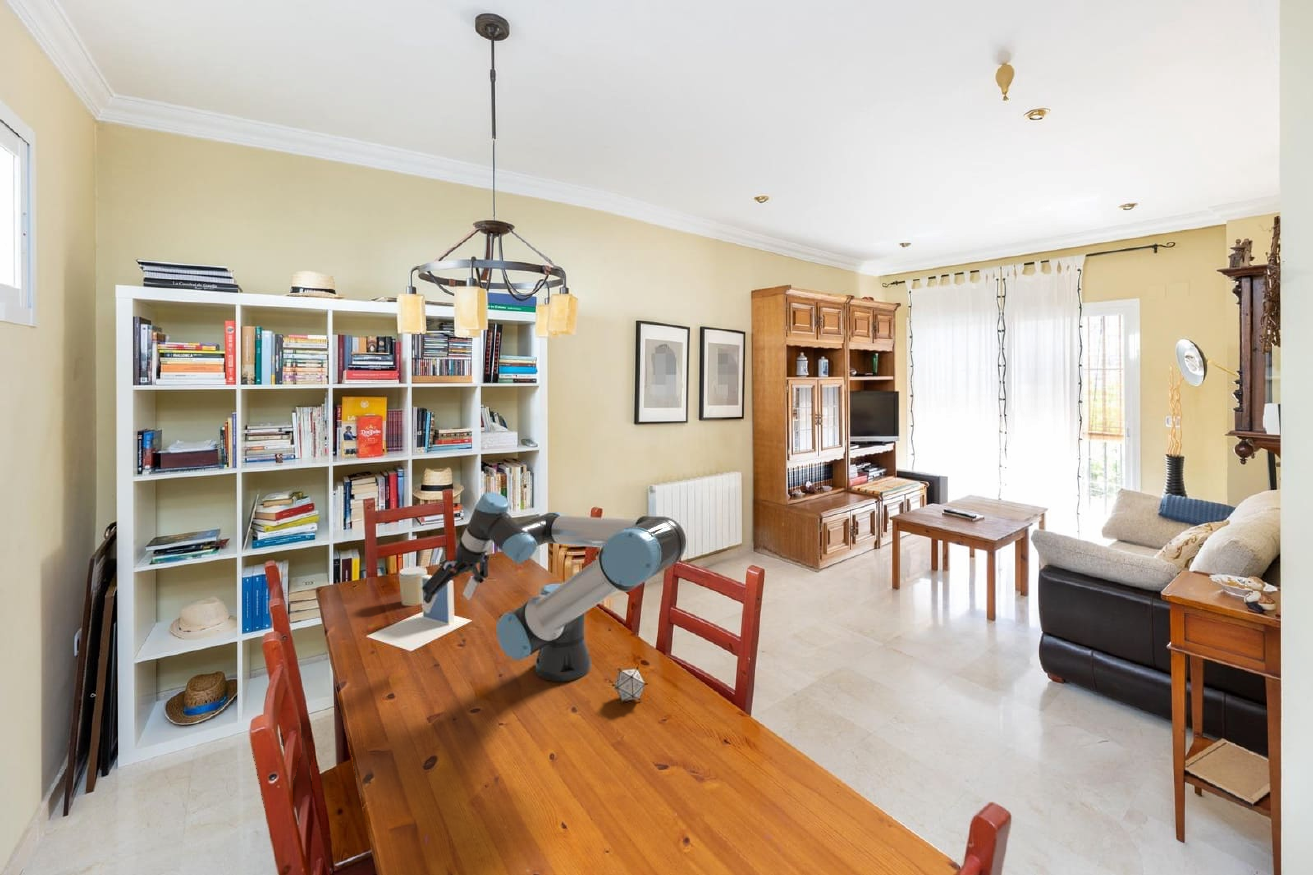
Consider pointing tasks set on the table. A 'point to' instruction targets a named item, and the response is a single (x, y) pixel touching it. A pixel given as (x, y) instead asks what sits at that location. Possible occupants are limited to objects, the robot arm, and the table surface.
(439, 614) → the tile
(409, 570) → the coffee cup
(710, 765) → the table surface
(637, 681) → the game die
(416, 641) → the mat
